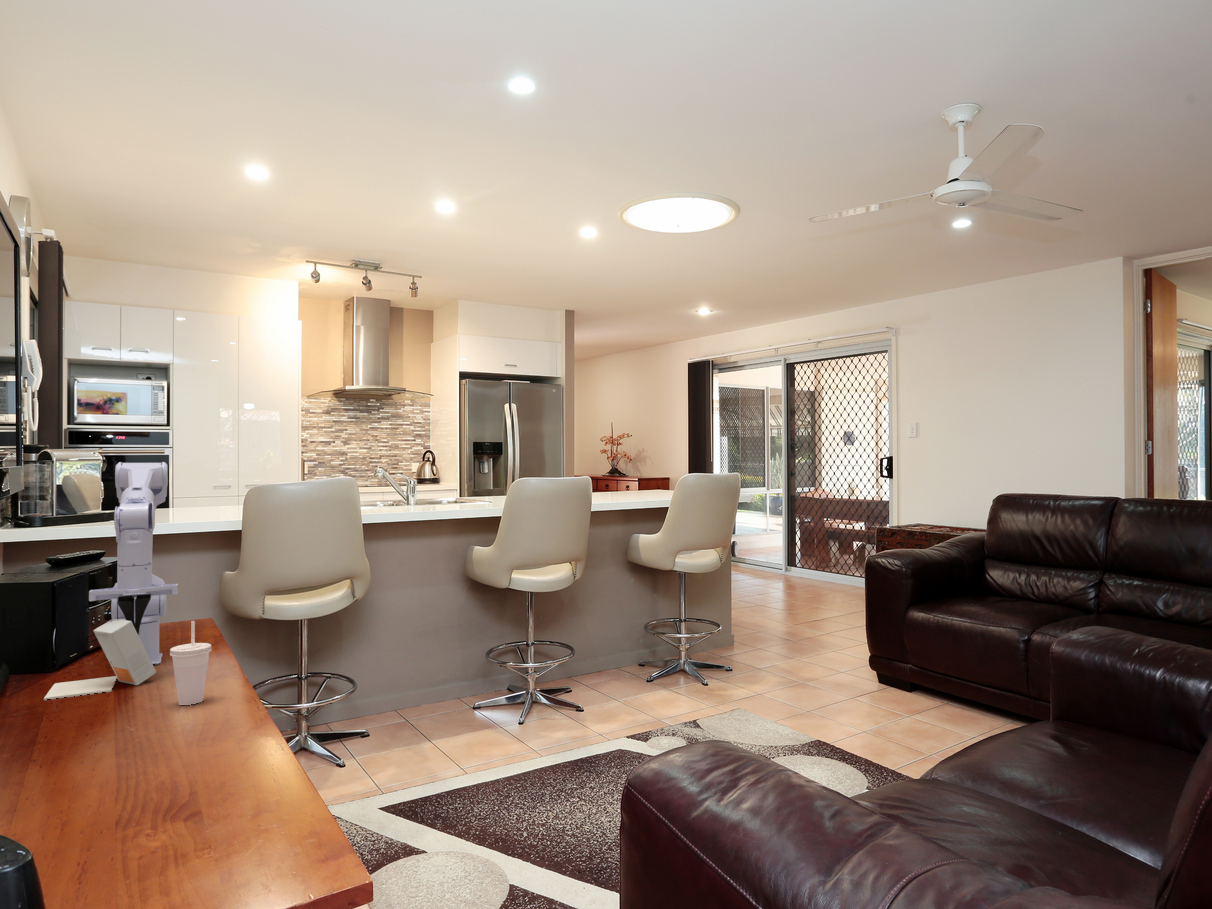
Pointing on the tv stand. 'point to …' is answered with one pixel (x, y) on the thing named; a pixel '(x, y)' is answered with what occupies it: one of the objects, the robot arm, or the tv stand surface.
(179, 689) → the smoothie
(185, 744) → the tv stand surface
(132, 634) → the skincare box
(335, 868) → the tv stand surface
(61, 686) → the felt mat
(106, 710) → the tv stand surface
